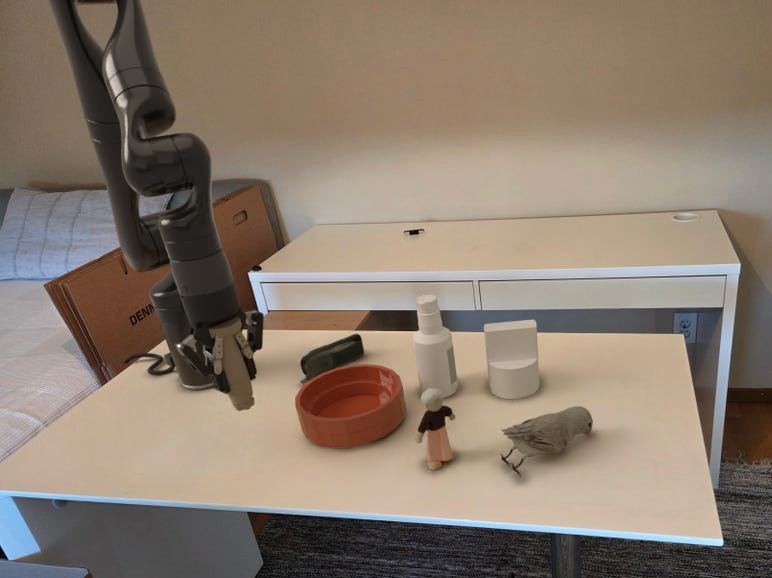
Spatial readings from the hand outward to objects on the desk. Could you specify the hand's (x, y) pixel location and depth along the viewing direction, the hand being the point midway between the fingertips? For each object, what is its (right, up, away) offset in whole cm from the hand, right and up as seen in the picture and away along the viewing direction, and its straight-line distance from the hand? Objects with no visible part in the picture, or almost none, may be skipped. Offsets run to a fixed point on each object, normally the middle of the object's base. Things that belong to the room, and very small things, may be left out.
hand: (237, 384), depth 98 cm
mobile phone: (+8, +2, +27) cm, 29 cm away
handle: (0, -4, +2) cm, 4 cm away
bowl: (+16, -7, +10) cm, 20 cm away
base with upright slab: (+44, -1, +16) cm, 46 cm away
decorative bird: (+48, -10, -2) cm, 49 cm away
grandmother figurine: (+32, -12, -1) cm, 34 cm away
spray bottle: (+30, -2, +17) cm, 35 cm away
